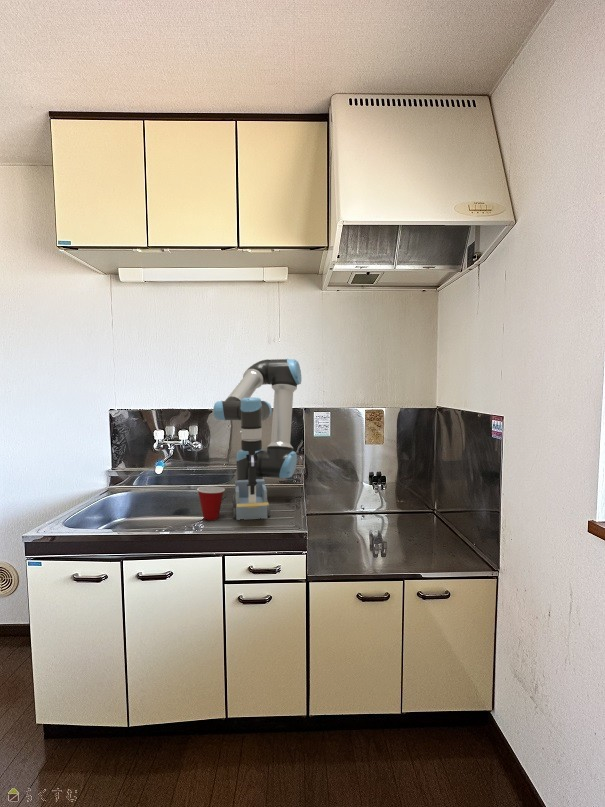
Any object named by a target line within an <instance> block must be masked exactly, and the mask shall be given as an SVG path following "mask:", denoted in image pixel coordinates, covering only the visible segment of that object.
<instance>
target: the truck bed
mask: <svg viewBox="0 0 605 807" xmlns="http://www.w3.org/2000/svg"><path fill="white" fill-rule="evenodd" d="M248 482H249V481H248V480H237V479H236V480H234V484H235V486H234V492H236V502H235V501H232V513H233V515H232V516H233V517H232V518H233V519H236V520H237V521H240V519H244V520H256V519H257V520H258V519H260V518H261V519H268V517H271V507H270V505H265V506H258V507H257V508H247V507H237V504H245V503H249V490H248V486H247V484H249V483H248ZM256 482H257V484H256V503H264V502H268V503H269V500H268V489H267V486H266V482H265V479H264V478H263V479H256ZM261 519H260V520H261Z"/></svg>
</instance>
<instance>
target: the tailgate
mask: <svg viewBox="0 0 605 807" xmlns="http://www.w3.org/2000/svg"><path fill="white" fill-rule="evenodd" d="M265 505H268V506H270V504H269V501H268V502H264V503H245V504H237V507H247V508H257V507H258V506H265Z"/></svg>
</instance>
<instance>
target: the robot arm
mask: <svg viewBox="0 0 605 807" xmlns="http://www.w3.org/2000/svg"><path fill="white" fill-rule="evenodd" d="M301 383H302V371H301V366H300V364H299V361H298V360H297V359H292V358H291V359H290V358H285V359H284V358H283V359H282V358H281V359H279V358H277V359H276V358H275V359H263V360H259V361H257V362H255V363H253V364H252V365H251V366H249V367H248V368H247V369H246V370H245V371H244V372H243V374H242V378H241V380H240V381H239V383H237V385H236V386H235V387H234V389H233V390H232V392H230V394H229V395H228V396H227V398H226V399H225V400H217V401H216V402H214V404H213V405H214V406H213V410H212V411H213V417H214V418H215V419H216V420H217V421H224V422H226V421H240V429H241V430H240V431H239V434H241V439H242V440H241V442H240V443H241V444H240V445H241V447H240V448H241V449H239V450H238V451H237V452H236V459H235V462H236V480H248V481H249V482H248V483H249V484H247V486H248V490H249V503H256V484H257V482H256V479H264V478H275V479H276V478H278V479H279V478H280V479H288V478H291V477H293V475H294V473H295V471H296V468H297V463H298V455H297V452H296V451H294V447H293V446H292V444H291V434H292V418H293V404H294V392H296V390H297V389H298V388H297V387H298V385H299V386H300V385H301ZM263 385H271V389H272V391H273V392H274V395H273V408H272V405H271V403H270V402H268V401H266V400H262V399H261V398H260V397H252V396H253V394H254V392H255V391H256V390H257V389H258V388H260V387H262V386H263ZM271 415H272V421H271V422H272V423H271V424H272V426H271V435H270V436H271V438H270V443H269V444H268V445H267V447H266V450H264V449H263V447H262V446H263V445H262V444H263V443H262V442H263V441H262V438H263V437H262V436H263V431H262V430H263V428H262V421H265V420H267V419H268V418H270V417H271ZM232 498H233V499H232V500H233V502H236V492H235V491H234V493H233V496H232Z"/></svg>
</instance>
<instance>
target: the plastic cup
mask: <svg viewBox="0 0 605 807" xmlns="http://www.w3.org/2000/svg"><path fill="white" fill-rule="evenodd" d="M196 490H197V493H198V497H199V501H200V502H199V503H200V508H201V513H202V517H203V519H204V520H205V521H216V520H218V519H219V518H218V517H220V511H221V506H222V498H223V495H224V492H225V491H226V489H225V487H222V486H221V487H220V486H212V485H211V486H210V485H209V486H200V487H198V488H197V489H196ZM217 518H218V519H217ZM206 519H207V520H206ZM215 519H216V520H215Z"/></svg>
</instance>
